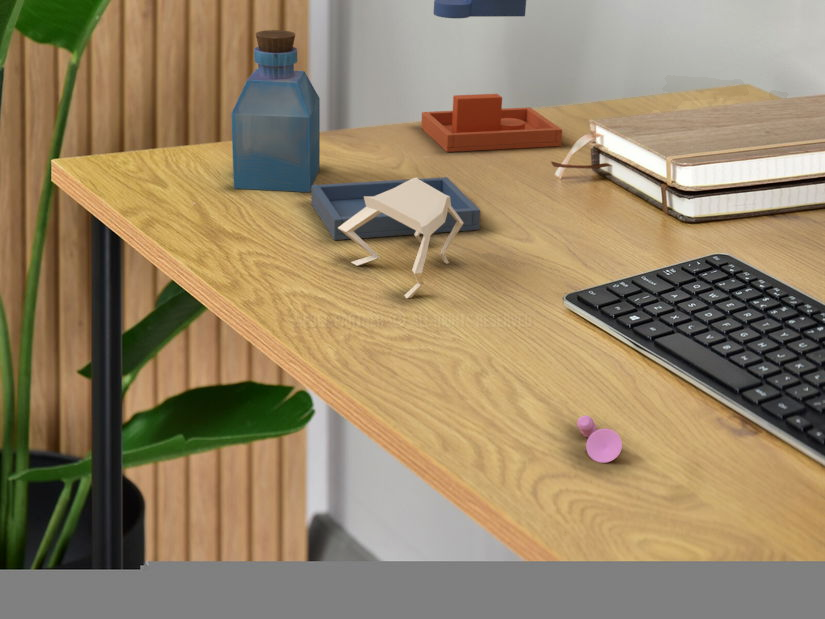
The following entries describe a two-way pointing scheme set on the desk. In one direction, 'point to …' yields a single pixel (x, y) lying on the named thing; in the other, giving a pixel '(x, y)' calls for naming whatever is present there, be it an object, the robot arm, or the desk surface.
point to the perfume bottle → (276, 121)
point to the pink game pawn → (599, 440)
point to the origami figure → (407, 219)
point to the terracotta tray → (493, 132)
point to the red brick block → (481, 114)
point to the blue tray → (349, 200)
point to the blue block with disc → (479, 8)
